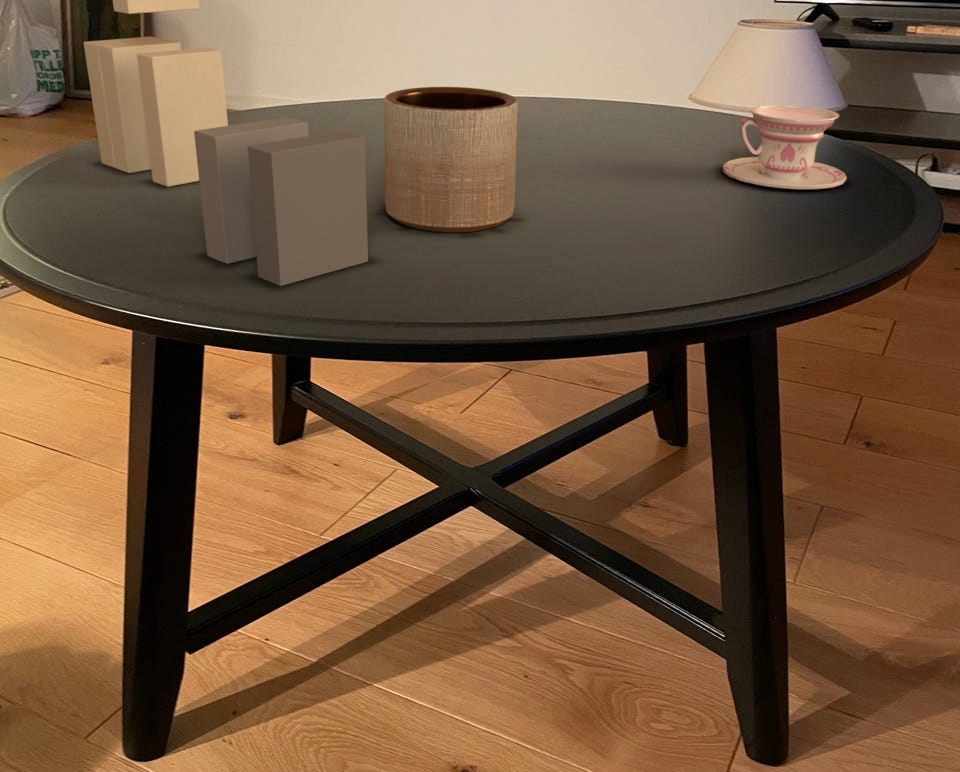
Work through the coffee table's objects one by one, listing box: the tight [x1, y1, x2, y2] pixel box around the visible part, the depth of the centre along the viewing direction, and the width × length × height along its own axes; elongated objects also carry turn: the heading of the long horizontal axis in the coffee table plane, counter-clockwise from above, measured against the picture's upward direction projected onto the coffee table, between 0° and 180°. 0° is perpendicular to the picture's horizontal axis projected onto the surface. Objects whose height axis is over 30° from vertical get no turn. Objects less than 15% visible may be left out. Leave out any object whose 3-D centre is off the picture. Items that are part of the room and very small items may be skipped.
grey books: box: [194, 116, 369, 287], centre depth 74 cm, size 8×9×9 cm
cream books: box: [83, 36, 229, 188], centre depth 95 cm, size 7×12×11 cm, turn 47°
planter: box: [383, 86, 519, 233], centre depth 84 cm, size 11×11×10 cm
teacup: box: [722, 104, 847, 190], centre depth 101 cm, size 12×12×6 cm
